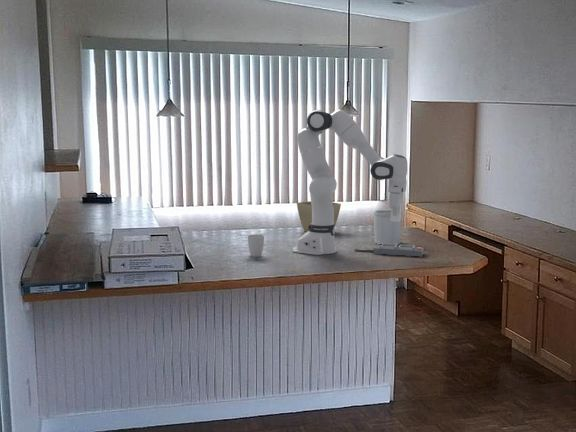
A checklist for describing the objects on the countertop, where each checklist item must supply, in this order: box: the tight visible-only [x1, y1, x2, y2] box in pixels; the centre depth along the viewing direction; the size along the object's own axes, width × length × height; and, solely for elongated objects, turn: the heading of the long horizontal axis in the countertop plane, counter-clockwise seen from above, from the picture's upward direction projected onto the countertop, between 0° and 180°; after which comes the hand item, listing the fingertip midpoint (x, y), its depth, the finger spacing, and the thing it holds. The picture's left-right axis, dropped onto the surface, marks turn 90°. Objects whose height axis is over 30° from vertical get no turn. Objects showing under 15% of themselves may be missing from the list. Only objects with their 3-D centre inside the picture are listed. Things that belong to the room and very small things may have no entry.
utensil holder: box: [373, 208, 402, 245], centre depth 384 cm, size 15×15×18 cm
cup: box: [247, 234, 265, 258], centre depth 352 cm, size 8×8×10 cm
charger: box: [390, 204, 403, 222], centre depth 355 cm, size 4×4×8 cm
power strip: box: [354, 243, 425, 258], centre depth 360 cm, size 35×8×4 cm, turn 73°
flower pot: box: [296, 200, 342, 232], centre depth 418 cm, size 19×19×17 cm
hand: (395, 214), depth 355 cm, fingers closed on charger, 4 cm apart
